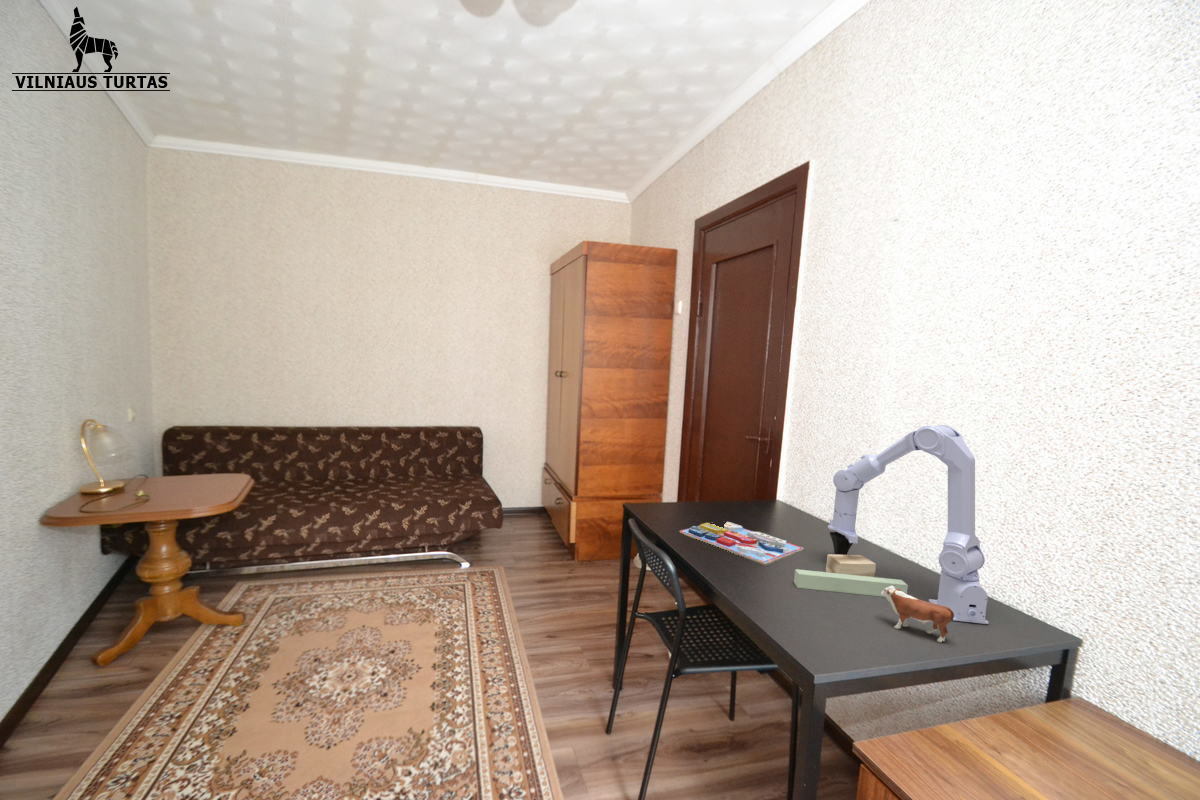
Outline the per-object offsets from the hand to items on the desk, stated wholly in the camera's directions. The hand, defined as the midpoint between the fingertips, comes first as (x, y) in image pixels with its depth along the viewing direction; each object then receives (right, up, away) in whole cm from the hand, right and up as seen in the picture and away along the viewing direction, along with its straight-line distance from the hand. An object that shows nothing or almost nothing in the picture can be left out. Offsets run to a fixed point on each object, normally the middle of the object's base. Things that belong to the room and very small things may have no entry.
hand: (839, 559), depth 140 cm
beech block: (-1, -3, -7) cm, 7 cm away
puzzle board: (-24, 0, +15) cm, 28 cm away
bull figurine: (-1, -5, -34) cm, 34 cm away
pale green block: (-5, -3, -16) cm, 17 cm away
